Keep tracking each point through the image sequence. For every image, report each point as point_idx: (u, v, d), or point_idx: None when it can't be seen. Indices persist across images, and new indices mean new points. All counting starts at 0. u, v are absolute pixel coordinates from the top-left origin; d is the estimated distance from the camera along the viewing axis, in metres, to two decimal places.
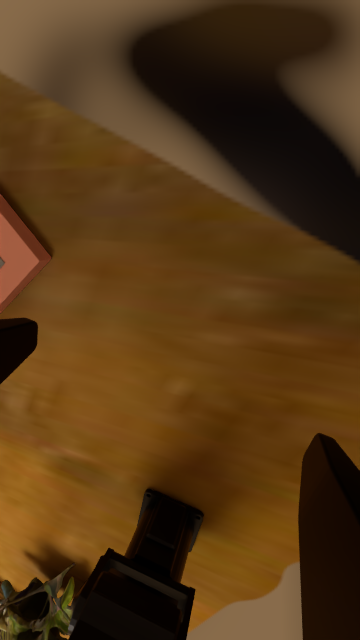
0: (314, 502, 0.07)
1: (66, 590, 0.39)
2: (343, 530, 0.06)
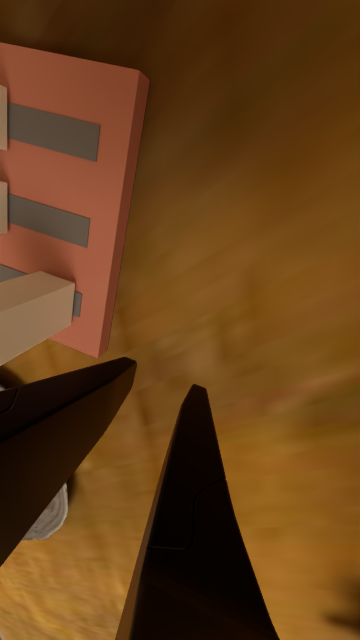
0: (170, 440, 0.07)
1: None
2: (168, 452, 0.06)
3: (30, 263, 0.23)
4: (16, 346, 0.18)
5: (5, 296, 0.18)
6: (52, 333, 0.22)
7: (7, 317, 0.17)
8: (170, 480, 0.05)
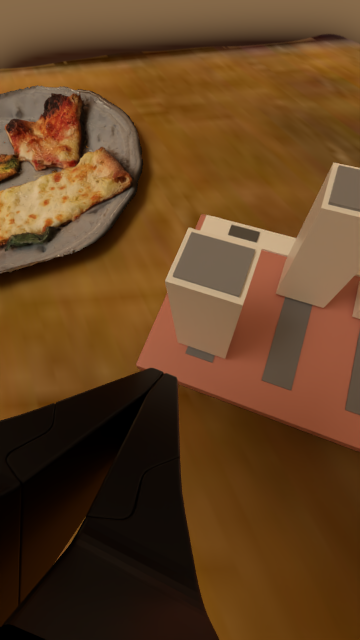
0: None
1: None
2: None
3: (243, 309, 0.23)
4: (184, 316, 0.16)
5: None
6: (177, 333, 0.20)
7: (224, 325, 0.15)
8: (121, 458, 0.05)
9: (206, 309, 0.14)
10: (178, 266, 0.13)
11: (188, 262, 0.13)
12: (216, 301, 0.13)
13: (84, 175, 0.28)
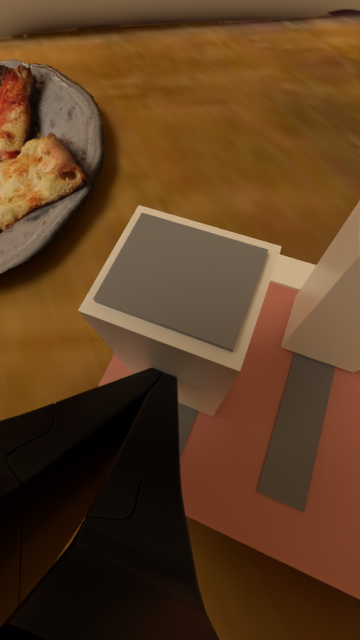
0: None
1: None
2: None
3: None
4: (138, 365, 0.09)
5: None
6: None
7: (207, 388, 0.08)
8: (122, 458, 0.05)
9: (170, 364, 0.07)
10: (109, 280, 0.06)
11: (129, 273, 0.06)
12: (184, 356, 0.06)
13: (24, 170, 0.21)
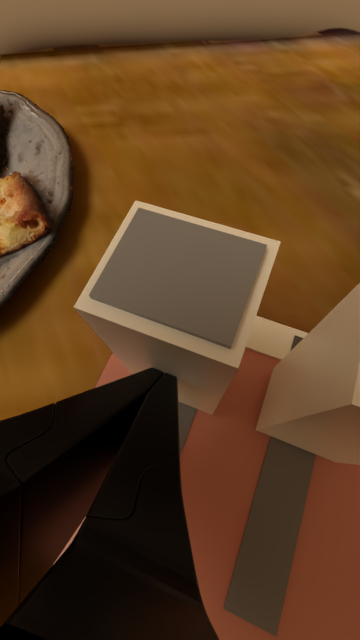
0: None
1: None
2: None
3: (201, 455, 0.14)
4: (136, 363, 0.09)
5: None
6: None
7: (205, 385, 0.08)
8: (122, 458, 0.05)
9: (168, 362, 0.07)
10: (104, 276, 0.06)
11: (125, 268, 0.06)
12: (182, 354, 0.06)
13: None
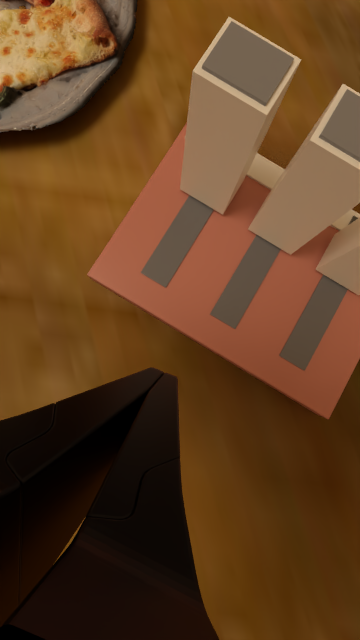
0: None
1: None
2: None
3: (210, 239, 0.21)
4: (198, 140, 0.16)
5: (252, 154, 0.16)
6: (183, 172, 0.19)
7: (238, 154, 0.15)
8: (121, 458, 0.05)
9: (225, 126, 0.14)
10: (210, 57, 0.12)
11: (221, 55, 0.12)
12: (240, 109, 0.13)
13: (58, 24, 0.22)
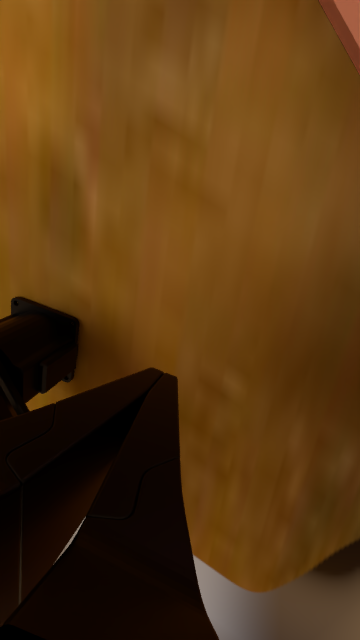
0: None
1: None
2: None
3: None
4: None
5: None
6: None
7: None
8: (121, 458, 0.05)
9: None
10: None
11: None
12: None
13: None
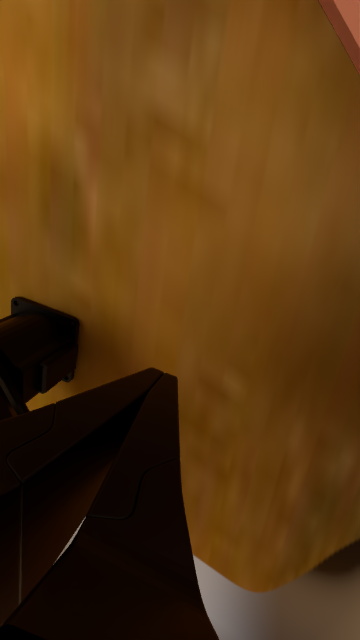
0: None
1: None
2: None
3: None
4: None
5: None
6: None
7: None
8: (122, 458, 0.05)
9: None
10: None
11: None
12: None
13: None
